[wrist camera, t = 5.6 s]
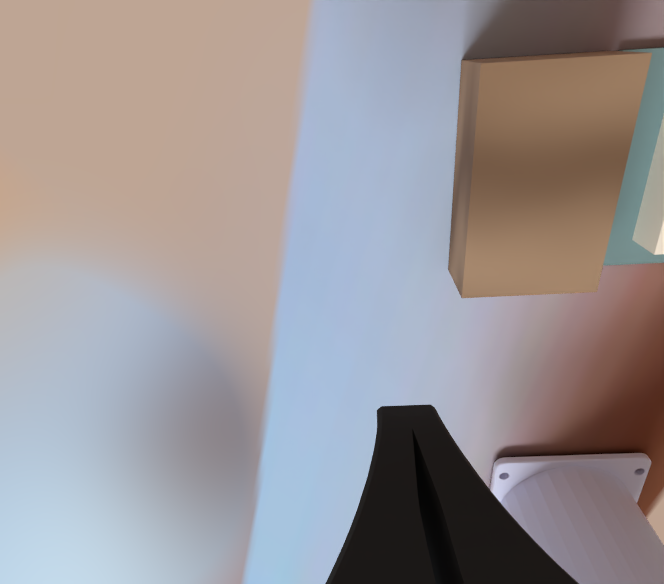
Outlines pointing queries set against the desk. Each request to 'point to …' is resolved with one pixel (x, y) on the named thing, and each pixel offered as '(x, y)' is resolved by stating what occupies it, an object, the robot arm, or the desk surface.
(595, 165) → the block
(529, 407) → the desk surface
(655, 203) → the cream rectangular block
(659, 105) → the mat
